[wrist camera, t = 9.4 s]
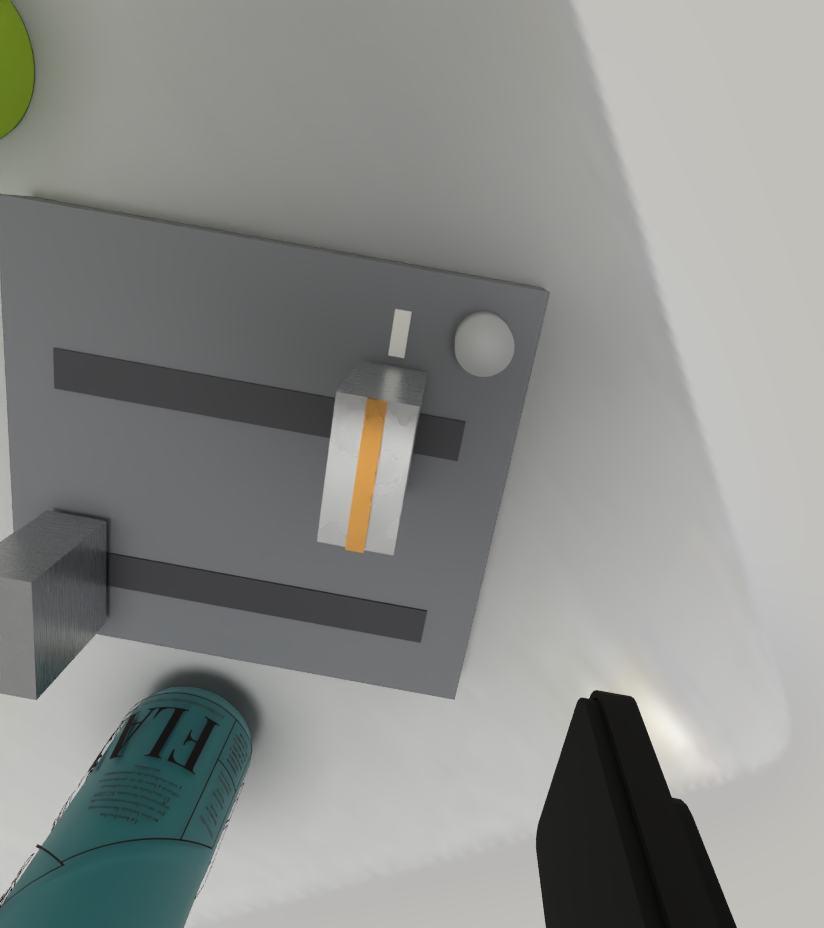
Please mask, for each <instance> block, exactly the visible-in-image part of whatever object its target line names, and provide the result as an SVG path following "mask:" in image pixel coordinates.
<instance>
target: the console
mask: <svg viewBox="0 0 824 928" xmlns="http://www.w3.org/2000/svg"><path fill="white" fill-rule="evenodd" d="M0 280H1V299H2V318H3V337H4V356H5V375H6V395H7V414H8V433H9V452H10V471H11V490H12V510H13V529H14V532H16V531H17V530H19V529H20V528H22V527H23V526H25V525H26V524H28V523H29V522H31V521H32V520H34V519H35V518H37V517H38V516H40V515H41V514H42V513H44V512H45V511H47V510H48V511H53V512H59V513H64V514H70V515H75V516H81V517H86V518H92V519H97V520H103V521H106V624H105V625H104V626H103V627H102V628H101V629H100V630H99V631H98V632H97V633H96V634H100V635H105V636H110V637H116V638H121V639H127V640H132V641H138V642H143V643H149V644H154V645H160V646H165V647H170V648H176V649H181V650H187V651H192V652H198V653H203V654H209V655H214V656H220V657H225V658H230V659H236V660H241V661H247V662H252V663H258V664H263V665H269V666H274V667H280V668H285V669H290V670H296V671H301V672H307V673H312V674H318V675H323V676H329V677H334V678H340V679H345V680H350V681H356V682H361V683H367V684H372V685H378V686H383V687H389V688H394V689H400V690H405V691H410V692H416V693H421V694H427V695H432V696H438V697H443V698H449V699H454V700H455V695H456V691H457V687H458V683H459V678H460V674H461V670H462V665H463V661H464V657H465V653H466V648H467V644H468V640H469V635H470V631H471V627H472V623H473V618H474V614H475V610H476V605H477V601H478V597H479V593H480V588H481V584H482V580H483V575H484V571H485V567H486V563H487V558H488V554H489V550H490V545H491V541H492V537H493V533H494V528H495V524H496V520H497V515H498V511H499V507H500V503H501V498H502V494H503V490H504V485H505V481H506V477H507V473H508V468H509V464H510V460H511V455H512V451H513V447H514V443H515V438H516V434H517V430H518V425H519V421H520V417H521V413H522V408H523V404H524V400H525V395H526V391H527V387H528V383H529V378H530V374H531V370H532V365H533V361H534V357H535V353H536V348H537V344H538V340H539V335H540V331H541V327H542V323H543V318H544V314H545V310H546V305H547V301H548V297H549V293H550V292H548V291H547V290H545V289H544V288H541V287H536V286H530V285H524V284H519V283H513V282H508V281H502V280H496V279H491V278H485V277H480V276H474V275H468V274H463V273H457V272H451V271H446V270H440V269H435V268H429V267H423V266H418V265H412V264H407V263H401V262H395V261H390V260H384V259H378V258H373V257H367V256H362V255H356V254H350V253H345V252H339V251H334V250H328V249H322V248H317V247H311V246H305V245H300V244H294V243H289V242H283V241H277V240H272V239H266V238H261V237H255V236H249V235H244V234H238V233H232V232H227V231H221V230H216V229H210V228H204V227H199V226H193V225H188V224H182V223H176V222H171V221H165V220H159V219H154V218H148V217H143V216H137V215H131V214H126V213H120V212H115V211H109V210H103V209H98V208H92V207H86V206H81V205H75V204H70V203H64V202H58V201H53V200H47V199H42V198H36V197H30V196H18V195H6V194H0ZM360 360H362V361H368V362H374V363H379V364H385V365H390V366H396V367H401V368H407V369H413V370H418V371H424V372H427V377H426V383H425V389H424V394H423V400H422V406H421V411H420V417H419V422H418V428H417V434H416V439H415V445H414V451H413V456H412V462H411V468H410V473H409V479H408V485H407V490H406V496H405V501H404V506H403V511H402V516H401V520H400V525H399V530H398V535H397V540H396V545H395V550H394V555H388V554H382V553H377V552H371V551H366V550H364V553H360V552H355V551H349V550H345V547H344V546H338V545H333V544H327V543H322V542H317V536H318V529H319V521H320V513H321V505H322V497H323V490H324V482H325V474H326V466H327V459H328V451H329V443H330V435H331V428H332V420H333V412H334V404H335V397H336V391H337V390H338V389H339V387H340V386H341V385H342V383H343V382H344V381H345V379H346V378H347V377H348V376H349V374H350V373H351V372H352V370H353V369H354V368H355V367H356V365H357V364H358V363H359V361H360Z"/></svg>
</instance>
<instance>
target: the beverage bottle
mask: <svg viewBox="0 0 824 928" xmlns="http://www.w3.org/2000/svg"><path fill="white" fill-rule="evenodd" d="M142 701H143V700H142ZM140 702H141V701H140ZM140 702H139V703H140ZM137 704H138V703H137ZM137 704H136V705H137ZM132 708H133V707H132ZM132 708H131V709H132ZM131 709H130V710H131ZM132 711H133V712H132ZM132 711H131V712H132V713H131V712H129V713H131V715H130V716H129V717H128V718H127V720H126V719H125V720H126V722H125V723H124V725H123V726H122V728H121V727H120V728H121V729H120V731H119V732H118V734H117V732H116V734H117V735H116V734H115V733H114V734H115V735H116V737H114V740H113V741H112V743H111V744H110V746H109V747H108V749H107V750H106V752H105V753H104V755H103V756H102V754H101V753H102V751H103V749H104V748H103V749H102V751H101V752H100V754H99V755H98V757H97V759H96V760H95V762H94V763H93V765H92V766H91V768H90V770H91V769H92V768H94V769H93V770H91V771H90V770H89V771H90V772H89V771H88V772H89V774H90V773H91V774H90V775H89V774H88V775H89V777H88V776H87V777H88V778H86V779H87V780H86V781H85V783H84V784H83V786H82V787H81V789H80V790H79V792H78V793H77V794H76V796H75V797H74V799H73V800H72V802H71V803H69V806H68V808H67V809H66V808H65V809H66V811H64V810H63V811H64V812H63V813H64V814H63V813H62V814H63V815H62V817H61V818H60V817H58V819H57V818H56V819H57V821H58V820H59V821H58V822H57V824H56V826H55V822H54V823H53V826H55V827H53V828H54V829H53V828H52V830H51V831H52V832H51V833H50V834H49V836H48V837H47V839H46V840H45V842H44V843H43V845H42V846H40V845H38V844H37V846H36V847H37V848H39V851H38V852H37V854H36V855H35V857H34V858H33V860H32V861H31V863H30V864H29V866H28V867H27V869H26V870H25V872H24V873H23V874H22V876H21V877H20V879H19V880H18V882H17V883H16V881H15V880H17V879H14V881H15V883H16V885H15V883H14V881H13V882H12V883H14V888H13V889H12V888H11V887H10V888H11V890H10V888H9V890H10V891H11V892H9V893H10V894H8V895H7V893H8V891H9V890H8V891H7V893H6V892H5V893H6V894H5V895H7V896H8V897H6V899H5V901H4V903H3V904H2V903H1V904H2V906H1V905H0V928H184V925H185V923H186V920H187V918H188V915H189V912H190V910H191V907H192V905H193V902H194V900H195V898H196V897H197V896H196V895H197V892H198V889H199V887H200V884H201V882H202V880H203V878H204V876H205V874H206V871H207V869H208V866H209V865H210V861H211V859H212V856H213V854H214V852H215V849H216V847H217V844H218V842H219V839H220V837H221V834H222V832H223V830H224V829H225V828H226V827H227V826H228V825H227V826H226V827H225V824H226V823H227V822H228V821H230V820H227V819H228V817H229V814H230V812H231V809H232V807H233V804H234V802H235V799H236V797H237V794H238V792H239V789H240V787H241V786H242V785H244V783H243V784H242V782H243V780H244V777H245V775H246V772H247V770H248V767H249V764H250V760H251V754H252V751H251V750H252V739H251V734H250V731H249V728H248V725H247V723H246V721H245V720H244V718H243V717H242V715H241V714H240V713H239V712H238V711H237V709H235V708H234V707H233V706H232V705H231V704H230V703H229V702H227V701H226V700H225V699H223V698H221V697H220V696H218V695H216V694H214V693H212V692H209V691H207V690H204V689H200V688H195V687H182V686H180V687H171V688H166V689H163V690H160V691H158V692H156V693H154V694H152V695H151V696H149V697H148V698H146V699H144V701H143V702H142V703H140V704H139V705H138V706H137V707H136V708H135V709H134V710H132ZM129 713H128V714H129ZM128 714H127V715H128ZM123 720H124V719H123ZM125 720H124V721H125ZM124 721H122V723H123V722H124ZM122 723H120V724H121V725H122ZM121 725H120V726H121ZM118 729H119V727H118ZM118 729H117V730H118ZM117 730H115V731H117ZM114 734H113V735H114ZM113 735H112V736H111V738H110V739H109V741H110V740H111V739H112V737H113ZM109 741H108V742H109ZM108 742H107V743H108ZM105 746H106V745H105ZM105 746H104V747H105ZM100 757H101V759H100V760H99V762H97V761H98V759H99V758H100ZM88 772H87V773H88ZM87 773H86V774H87ZM84 777H85V776H84ZM82 780H83V779H82ZM82 780H81V781H82ZM80 783H81V782H80ZM241 784H242V785H241ZM79 785H80V784H79ZM78 787H79V786H78ZM241 790H242V789H241ZM74 792H75V791H74ZM74 792H73V793H74ZM73 793H72V795H73ZM239 795H240V794H239ZM70 797H71V796H70ZM71 798H72V797H71ZM238 798H239V797H238ZM238 798H237V800H238ZM67 802H68V801H67ZM236 803H237V802H236ZM66 805H67V804H66V803H65V805H64V806H65V807H66ZM64 806H63V807H64ZM234 808H235V807H234ZM62 809H63V808H62ZM61 812H62V810H61ZM232 813H233V812H232ZM60 814H61V813H60ZM59 816H60V815H59ZM230 818H231V817H230ZM56 819H55V820H56ZM224 827H225V828H224ZM225 831H226V830H225ZM223 836H224V835H223ZM221 841H222V840H221ZM220 844H221V843H220ZM218 849H219V848H218ZM33 854H34V853H33ZM33 854H32V855H31V856H33ZM216 854H217V853H216ZM31 856H30V857H31ZM30 857H29V858H30ZM29 858H28V859H29ZM30 859H31V858H30ZM214 859H215V858H214ZM28 862H29V861H28ZM213 862H214V861H213ZM24 865H25V864H24ZM24 865H23V866H24ZM26 865H27V864H26ZM26 865H25V866H26ZM211 867H212V866H211ZM24 868H25V867H24ZM24 868H23V869H24ZM21 870H22V869H20V873H21V872H22V871H23V870H22V871H21ZM209 872H210V871H209ZM17 875H20V874H19V873H18V874H17ZM18 877H19V876H18ZM18 877H17V876H16V878H18ZM207 877H208V876H207ZM205 882H206V881H205ZM12 885H13V884H12ZM203 886H204V885H203ZM202 888H203V887H202ZM202 888H201V889H202ZM200 891H201V890H200ZM200 891H199V892H200ZM198 894H199V893H198ZM5 895H4V894H3V896H4V897H1V898H2V899H1V900H0V902H1V901H2V900H4V899H3V898H5ZM2 902H3V901H2Z"/></svg>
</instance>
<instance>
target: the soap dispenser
mask: <svg viewBox="0 0 824 928" xmlns="http://www.w3.org/2000/svg"><path fill="white" fill-rule="evenodd" d="M33 84H34V61H33V54H32V49H31V44H30V41H29V37H28V34H27V32H26V29H25V27H24V24H23V22H22V20H21V18H20V16H19V14H18V13H17V11H16V9H15V8H14V6H13V5H12V3H11V2H10V0H0V138H1V137H3V136H5V135H6V134H8V133H9V132H10V131H11V130H12V129H13V128H14V127H15V126H16V125H17V124H18V123H19V121H20V120H21V119H22V117H23V115H24V114H25V112H26V110H27V107H28V105H29V102H30V99H31V95H32V91H33Z"/></svg>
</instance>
